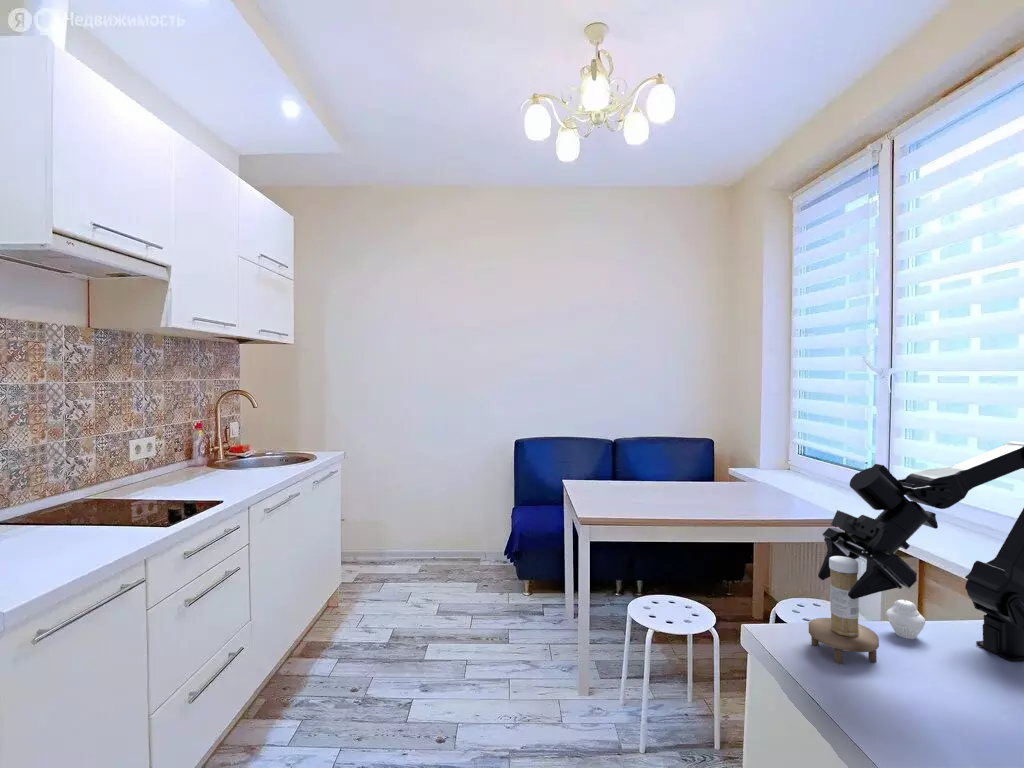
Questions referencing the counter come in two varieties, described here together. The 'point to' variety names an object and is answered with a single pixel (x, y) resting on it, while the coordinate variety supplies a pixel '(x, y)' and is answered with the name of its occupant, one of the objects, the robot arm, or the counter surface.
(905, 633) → the muffin
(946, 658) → the counter surface
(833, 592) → the sprinkles bottle
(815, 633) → the walnut footstool
